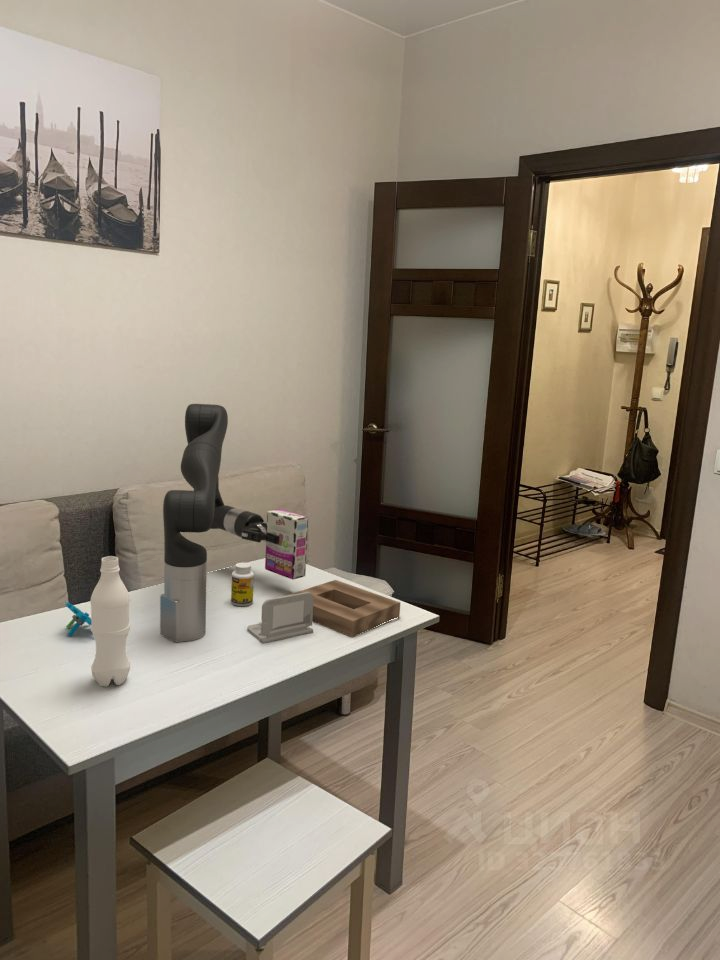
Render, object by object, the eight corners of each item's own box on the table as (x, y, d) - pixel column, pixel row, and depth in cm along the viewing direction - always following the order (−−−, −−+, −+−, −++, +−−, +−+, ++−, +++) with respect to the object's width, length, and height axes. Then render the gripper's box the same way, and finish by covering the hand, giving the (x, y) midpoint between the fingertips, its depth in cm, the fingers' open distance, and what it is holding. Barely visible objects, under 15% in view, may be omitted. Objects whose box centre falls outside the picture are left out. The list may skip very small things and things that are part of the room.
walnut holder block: (352, 637, 171) (352, 621, 170) (286, 610, 185) (286, 595, 184) (399, 617, 185) (400, 602, 184) (334, 593, 198) (335, 579, 198)
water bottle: (93, 691, 139) (91, 565, 134) (90, 675, 146) (88, 554, 141) (132, 686, 142) (131, 562, 137) (128, 670, 149) (127, 551, 144)
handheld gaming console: (293, 619, 180) (295, 580, 178) (313, 633, 173) (315, 592, 171) (244, 629, 172) (245, 589, 170) (263, 644, 165) (264, 602, 163)
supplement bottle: (227, 605, 186) (228, 566, 184) (236, 597, 191) (237, 560, 189) (247, 608, 185) (248, 569, 183) (256, 601, 190) (257, 563, 188)
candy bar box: (306, 576, 196) (309, 516, 192) (293, 580, 192) (295, 520, 188) (277, 565, 203) (280, 507, 199) (263, 569, 199) (266, 510, 195)
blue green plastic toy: (109, 631, 163) (74, 604, 158) (91, 653, 161) (54, 627, 156) (98, 620, 172) (65, 594, 168) (80, 641, 170) (46, 615, 166)
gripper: (223, 514, 200) (266, 529, 189) (263, 507, 211) (305, 520, 200) (223, 541, 201) (265, 557, 191) (262, 532, 212) (304, 546, 202)
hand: (285, 538), depth 195 cm, fingers closed on candy bar box, 5 cm apart
